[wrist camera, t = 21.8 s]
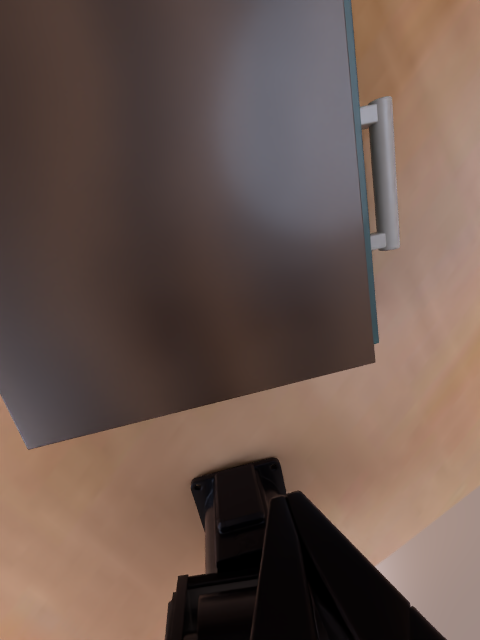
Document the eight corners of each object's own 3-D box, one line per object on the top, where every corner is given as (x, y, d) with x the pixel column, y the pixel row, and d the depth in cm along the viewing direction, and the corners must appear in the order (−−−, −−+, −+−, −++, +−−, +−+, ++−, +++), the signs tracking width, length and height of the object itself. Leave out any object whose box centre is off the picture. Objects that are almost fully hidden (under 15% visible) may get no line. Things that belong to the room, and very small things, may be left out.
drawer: (362, 6, 15) (404, -53, 12) (385, 317, 20) (419, 333, 17) (-31, 78, 14) (-96, 34, 11) (92, 389, 19) (70, 419, 16)
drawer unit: (291, 21, 15) (336, -86, 10) (331, 329, 20) (375, 362, 15) (-54, 85, 14) (-197, 1, 9) (74, 392, 19) (27, 450, 14)
